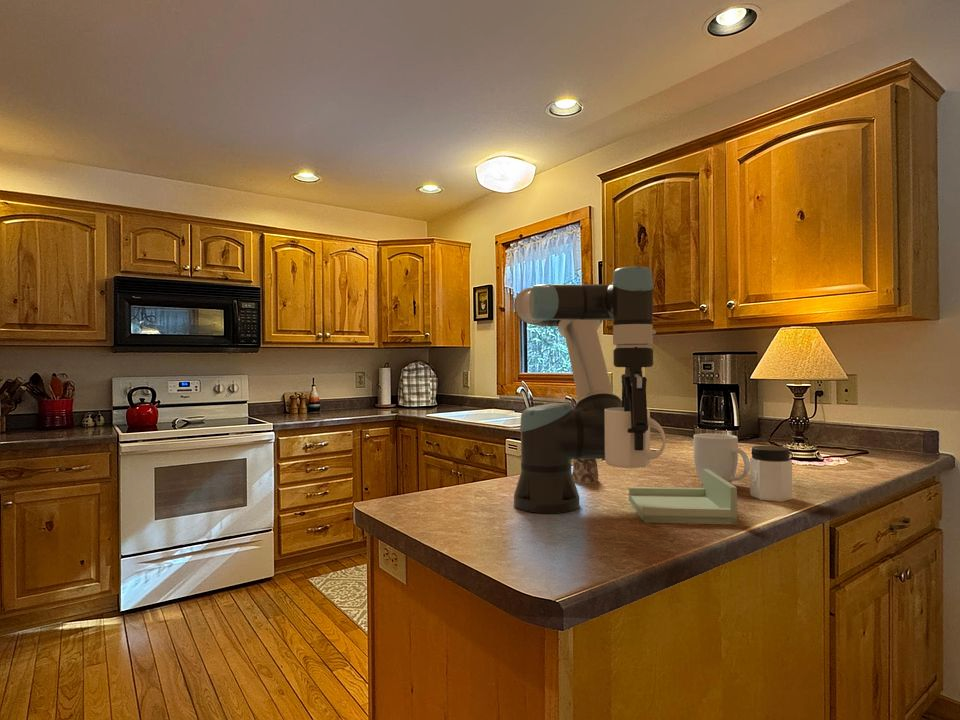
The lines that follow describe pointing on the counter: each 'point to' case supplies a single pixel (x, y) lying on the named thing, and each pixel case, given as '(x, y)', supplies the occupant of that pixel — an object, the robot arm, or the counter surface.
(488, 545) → the counter surface
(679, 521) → the tray
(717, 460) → the mug
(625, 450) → the mug
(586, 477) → the figurine
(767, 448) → the jar
